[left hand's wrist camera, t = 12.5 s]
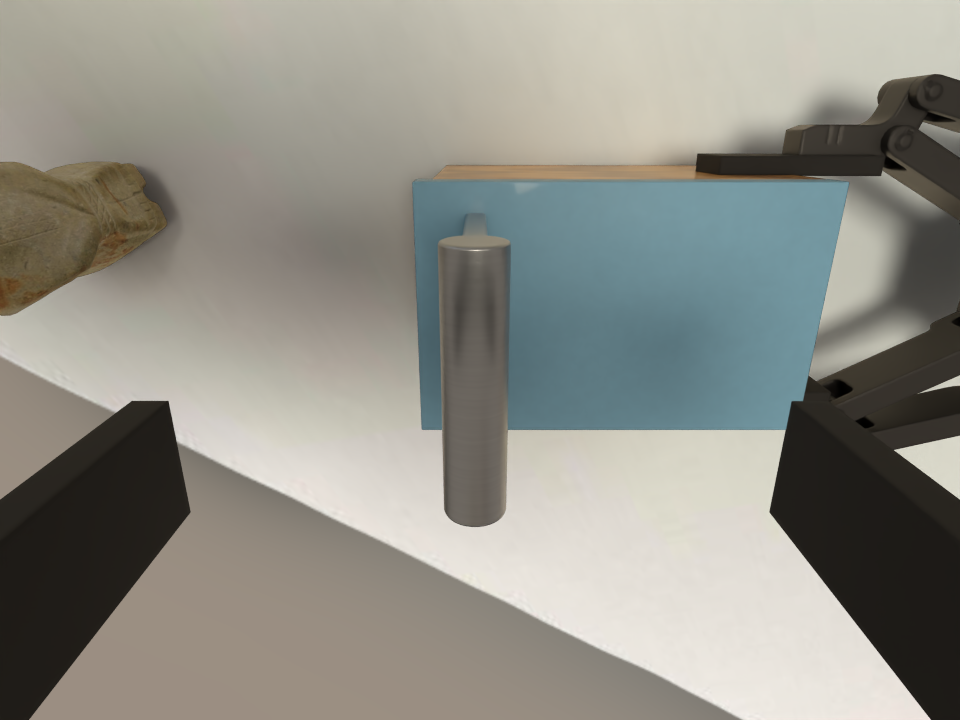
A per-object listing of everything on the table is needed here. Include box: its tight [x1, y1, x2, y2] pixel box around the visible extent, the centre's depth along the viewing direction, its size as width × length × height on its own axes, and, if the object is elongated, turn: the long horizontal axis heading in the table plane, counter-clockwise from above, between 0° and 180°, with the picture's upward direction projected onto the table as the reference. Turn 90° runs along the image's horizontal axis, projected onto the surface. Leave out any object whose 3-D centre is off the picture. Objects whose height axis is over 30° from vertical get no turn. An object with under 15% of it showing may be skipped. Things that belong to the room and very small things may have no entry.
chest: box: [433, 165, 821, 179], centre depth 28 cm, size 14×10×10 cm, turn 90°
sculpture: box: [0, 162, 167, 316], centre depth 25 cm, size 6×7×15 cm
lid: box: [412, 179, 849, 527], centre depth 19 cm, size 15×10×9 cm, turn 90°
